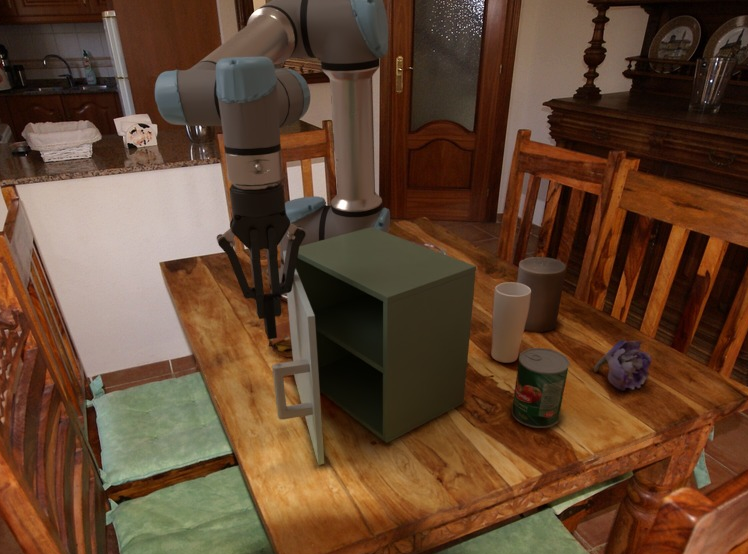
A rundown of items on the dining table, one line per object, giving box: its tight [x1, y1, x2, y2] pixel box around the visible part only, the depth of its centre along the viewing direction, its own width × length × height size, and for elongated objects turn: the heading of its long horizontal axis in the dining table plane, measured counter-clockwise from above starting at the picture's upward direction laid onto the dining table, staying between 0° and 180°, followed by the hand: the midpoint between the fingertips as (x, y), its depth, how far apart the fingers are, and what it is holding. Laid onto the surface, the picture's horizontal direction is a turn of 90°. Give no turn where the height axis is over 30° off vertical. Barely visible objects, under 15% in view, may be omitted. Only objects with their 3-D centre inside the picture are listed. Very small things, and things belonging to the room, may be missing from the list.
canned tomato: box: [511, 347, 570, 429], centre depth 96 cm, size 8×8×11 cm
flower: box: [593, 339, 652, 391], centre depth 105 cm, size 9×9×10 cm
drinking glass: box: [490, 281, 531, 364], centre depth 112 cm, size 7×7×15 cm
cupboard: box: [296, 227, 477, 444], centre depth 100 cm, size 18×26×26 cm
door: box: [271, 251, 325, 466], centre depth 93 cm, size 6×26×26 cm, turn 13°
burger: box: [266, 321, 293, 358], centre depth 120 cm, size 10×9×5 cm
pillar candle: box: [516, 256, 567, 333], centre depth 125 cm, size 10×10×15 cm
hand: (271, 334), depth 91 cm, fingers closed
